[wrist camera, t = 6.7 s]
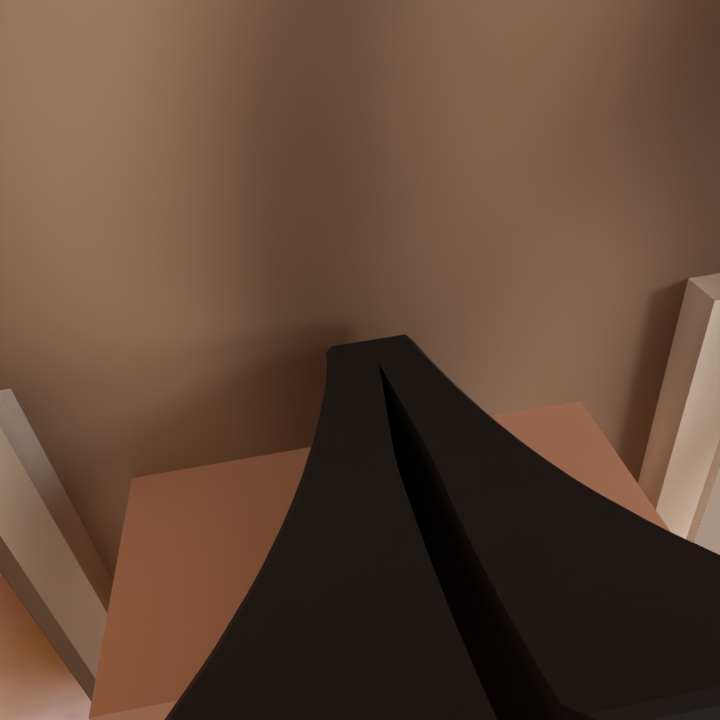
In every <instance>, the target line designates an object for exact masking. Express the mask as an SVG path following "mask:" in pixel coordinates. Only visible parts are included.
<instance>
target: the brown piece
mask: <svg viewBox="0 0 720 720" xmlns="http://www.w3.org/2000/svg"><path fill="white" fill-rule="evenodd" d="M404 334H406V335H407V336H408V337H410V338H411V339H412V340H413V341H414V342H415V343H416V344H417V345H418V347H419V348H420V349H421V350H422V351H423V352H424V353H425V354H426V355H427V356H428V358H429V359H430V360H431V361H432V362H433V363H434V364H435V365H436V366H437V367H438V368H439V369H440V370H441V371H442V372H443V373H444V374H445V375H446V376H447V377H448V378H449V379H450V380H451V381H452V382H453V383H454V384H455V385H456V386H457V387H458V388H459V389H461V390H462V391H463V392H464V393H465V394H466V395H467V396H468V397H469V398H470V399H472V400H473V401H474V402H475V403H476V404H477V405H478V406H479V407H480V408H481V409H483V410H484V411H485V412H486V413H487V414H488V415H490V416H495V415H501V414H506V413H512V412H518V411H524V410H530V409H535V408H541V407H547V406H553V405H559V404H564V403H570V402H576V401H581V402H582V403H583V405H584V406H585V408H586V409H587V410H588V412H589V413H590V415H591V416H592V418H593V419H594V421H595V422H596V424H597V425H598V427H599V428H600V429H601V431H602V432H603V434H604V435H605V437H606V438H607V440H608V441H609V443H610V444H611V445H612V447H613V448H614V450H615V451H616V453H617V454H618V456H619V457H620V459H621V460H622V462H623V463H624V464H625V466H626V467H627V469H628V470H629V472H630V473H631V475H632V476H633V478H634V479H635V480H636V482H637V483H638V485H639V486H640V488H641V489H642V491H643V492H644V494H645V495H646V497H647V498H648V499H649V501H650V502H651V504H652V505H653V507H654V508H655V510H656V511H657V513H658V514H659V515H660V517H661V518H662V520H663V521H664V523H665V524H666V526H667V527H668V529H669V530H670V532H672V533H674V534H676V535H678V536H680V537H682V538H684V539H686V540H688V541H691V542H694V539H695V536H696V533H697V530H698V528H699V525H700V522H701V519H702V516H703V513H704V510H705V507H706V505H707V502H708V499H709V496H710V493H711V490H712V487H713V485H714V482H715V479H716V476H717V473H718V470H719V468H720V0H0V571H1V573H2V574H3V576H4V577H5V578H6V580H7V581H8V583H9V584H10V586H11V587H12V589H13V590H14V591H15V593H16V594H17V596H18V597H19V599H20V600H21V601H22V603H23V604H24V606H25V607H26V609H27V610H28V611H29V613H30V614H31V616H32V617H33V619H34V620H35V621H36V623H37V624H38V626H39V627H40V629H41V630H42V631H43V633H44V634H45V636H46V637H47V639H48V640H49V641H50V643H51V644H52V646H53V647H54V649H55V650H56V651H57V653H58V654H59V656H60V657H61V659H62V660H63V661H64V663H65V664H66V666H67V667H68V669H69V670H70V671H71V673H72V674H73V676H74V677H75V679H76V680H77V681H78V683H79V684H80V686H81V687H82V689H83V690H84V691H85V693H86V694H87V696H88V697H89V699H90V700H91V701H92V697H93V691H94V686H95V680H96V675H97V669H98V664H99V658H100V653H101V647H102V642H103V636H104V630H105V625H106V619H107V614H108V608H109V603H110V597H111V592H112V586H113V581H114V575H115V570H116V564H117V558H118V553H119V547H120V542H121V536H122V531H123V525H124V520H125V514H126V509H127V503H128V498H129V492H130V486H131V481H132V478H135V477H141V476H147V475H153V474H159V473H164V472H170V471H176V470H182V469H188V468H193V467H199V466H205V465H211V464H216V463H222V462H228V461H234V460H240V459H245V458H251V457H257V456H263V455H269V454H274V453H280V452H286V451H292V450H298V449H303V448H309V447H311V446H312V443H313V440H314V436H315V433H316V429H317V424H318V420H319V416H320V411H321V407H322V403H323V397H324V391H325V384H326V375H327V358H326V352H327V351H328V350H329V349H330V348H331V347H332V346H337V345H343V344H349V343H355V342H361V341H367V340H373V339H380V338H386V337H392V336H398V335H404Z"/></svg>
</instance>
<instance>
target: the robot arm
mask: <svg viewBox="0 0 720 720" xmlns="http://www.w3.org/2000/svg"><path fill="white" fill-rule="evenodd" d="M326 358H327V375H326V384H325V391H324V397H323V403H322V407H321V411H320V416H319V420H318V424H317V429H316V433H315V436H314V440H313V443H312V446H311V449H310V452H309V455H308V459H307V462H306V465H305V468H304V471H303V474H302V477H301V480H300V482H299V485H298V488H297V490H296V493H295V495H294V498H293V500H292V503H291V505H290V508H289V510H288V512H287V515H286V517H285V519H284V522H283V524H282V526H281V528H280V530H279V533H278V535H277V537H276V539H275V541H274V543H273V545H272V547H271V549H270V551H269V553H268V555H267V557H266V559H265V561H264V563H263V565H262V567H261V569H260V571H259V573H258V575H257V576H256V578H255V580H254V582H253V584H252V586H251V587H250V589H249V591H248V593H247V594H246V596H245V598H244V599H243V601H242V603H241V604H240V606H239V608H238V609H237V611H236V613H235V614H234V616H233V618H232V619H231V621H230V623H229V624H228V626H227V628H226V629H225V631H224V632H223V634H222V636H221V637H220V639H219V641H218V642H217V644H216V646H215V647H214V649H213V650H212V652H211V653H210V655H209V656H208V658H207V660H206V661H205V663H204V664H203V666H202V667H201V668H200V670H199V671H198V673H197V674H196V675H195V677H194V678H193V680H192V681H191V683H190V684H189V685H188V687H187V688H186V690H185V691H184V692H183V694H182V695H181V697H180V698H179V700H178V701H177V702H176V704H175V705H174V707H173V708H172V709H171V711H170V712H169V714H168V715H167V717H166V718H165V719H164V720H720V555H718V554H716V553H714V552H712V551H710V550H708V549H706V548H703V547H701V546H699V545H697V544H695V543H693V542H691V541H688V540H686V539H684V538H682V537H680V536H678V535H676V534H674V533H672V532H670V531H668V530H666V529H664V528H662V527H660V526H658V525H656V524H654V523H652V522H650V521H648V520H646V519H644V518H642V517H641V516H639V515H637V514H635V513H633V512H632V511H630V510H628V509H626V508H624V507H623V506H621V505H619V504H617V503H615V502H614V501H612V500H610V499H608V498H606V497H605V496H603V495H601V494H599V493H597V492H596V491H594V490H592V489H591V488H589V487H587V486H586V485H584V484H582V483H581V482H579V481H578V480H576V479H574V478H573V477H571V476H570V475H568V474H567V473H565V472H564V471H562V470H561V469H559V468H558V467H556V466H555V465H553V464H552V463H551V462H549V461H548V460H546V459H545V458H543V457H542V456H541V455H539V454H538V453H536V452H535V451H534V450H532V449H531V448H530V447H528V446H527V445H526V444H524V443H523V442H522V441H520V440H519V439H518V438H517V437H515V436H514V435H513V434H512V433H510V432H509V431H508V430H507V429H505V428H504V427H503V426H502V425H500V424H499V423H498V422H497V421H495V420H494V419H493V418H492V417H491V416H490V415H488V414H487V413H486V412H485V411H484V410H483V409H481V408H480V407H479V406H478V405H477V404H476V403H475V402H474V401H473V400H472V399H470V398H469V397H468V396H467V395H466V394H465V393H464V392H463V391H462V390H461V389H459V388H458V387H457V386H456V385H455V384H454V383H453V382H452V381H451V380H450V379H449V378H448V377H447V376H446V375H445V374H444V373H443V372H442V371H441V370H440V369H439V368H438V367H437V366H436V365H435V364H434V363H433V362H432V361H431V360H430V359H429V358H428V356H427V355H426V354H425V353H424V352H423V351H422V350H421V349H420V348H419V347H418V345H417V344H416V343H415V342H414V341H413V340H412V339H411V338H410V337H408V336H407V335H406V334H404V335H398V336H392V337H386V338H380V339H373V340H367V341H361V342H355V343H349V344H343V345H337V346H332V347H331V348H330V349H329V350H328V351H327V352H326Z"/></svg>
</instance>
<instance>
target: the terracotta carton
mask: <svg viewBox="0 0 720 720" xmlns="http://www.w3.org/2000/svg"><path fill="white" fill-rule="evenodd" d="M491 417H492V418H493V419H494V420H495V421H497V422H498V423H499V424H500V425H502V426H503V427H504V428H505V429H507V430H508V431H509V432H510V433H512V434H513V435H514V436H515V437H517V438H518V439H519V440H520V441H522V442H523V443H524V444H526V445H527V446H528V447H530V448H531V449H532V450H534V451H535V452H536V453H538V454H539V455H541V456H542V457H543V458H545V459H546V460H548V461H549V462H551V463H552V464H553V465H555V466H556V467H558V468H559V469H561V470H562V471H564V472H565V473H567V474H568V475H570V476H571V477H573V478H574V479H576V480H578V481H579V482H581V483H582V484H584V485H586V486H587V487H589V488H591V489H592V490H594V491H596V492H597V493H599V494H601V495H603V496H605V497H606V498H608V499H610V500H612V501H614V502H615V503H617V504H619V505H621V506H623V507H624V508H626V509H628V510H630V511H632V512H633V513H635V514H637V515H639V516H641V517H642V518H644V519H646V520H648V521H650V522H652V523H654V524H656V525H658V526H660V527H662V528H664V529H666V530H668V531H670V530H669V529H668V527H667V526H666V524H665V523H664V521H663V520H662V518H661V517H660V515H659V514H658V513H657V511H656V510H655V508H654V507H653V505H652V504H651V502H650V501H649V499H648V498H647V497H646V495H645V494H644V492H643V491H642V489H641V488H640V486H639V485H638V483H637V482H636V480H635V479H634V478H633V476H632V475H631V473H630V472H629V470H628V469H627V467H626V466H625V464H624V463H623V462H622V460H621V459H620V457H619V456H618V454H617V453H616V451H615V450H614V448H613V447H612V445H611V444H610V443H609V441H608V440H607V438H606V437H605V435H604V434H603V432H602V431H601V429H600V428H599V427H598V425H597V424H596V422H595V421H594V419H593V418H592V416H591V415H590V413H589V412H588V410H587V409H586V408H585V406H584V405H583V403H582V402H581V401H576V402H570V403H564V404H559V405H553V406H547V407H541V408H535V409H530V410H524V411H518V412H512V413H506V414H501V415H495V416H491ZM310 449H311V447H309V448H303V449H298V450H292V451H286V452H280V453H274V454H269V455H263V456H257V457H251V458H245V459H240V460H234V461H228V462H222V463H216V464H211V465H205V466H199V467H193V468H188V469H182V470H176V471H170V472H164V473H159V474H153V475H147V476H141V477H135V478H132V481H131V486H130V492H129V498H128V503H127V509H126V514H125V520H124V525H123V531H122V536H121V542H120V547H119V553H118V558H117V564H116V570H115V575H114V581H113V586H112V592H111V597H110V603H109V608H108V614H107V619H106V625H105V630H104V636H103V642H102V647H101V653H100V658H99V664H98V669H97V675H96V680H95V686H94V691H93V697H92V703H91V708H90V714H89V719H90V720H164V719H165V718H166V717H167V715H168V714H169V712H170V711H171V709H172V708H173V707H174V705H175V704H176V702H177V701H178V700H179V698H180V697H181V695H182V694H183V692H184V691H185V690H186V688H187V687H188V685H189V684H190V683H191V681H192V680H193V678H194V677H195V675H196V674H197V673H198V671H199V670H200V668H201V667H202V666H203V664H204V663H205V661H206V660H207V658H208V656H209V655H210V653H211V652H212V650H213V649H214V647H215V646H216V644H217V642H218V641H219V639H220V637H221V636H222V634H223V632H224V631H225V629H226V628H227V626H228V624H229V623H230V621H231V619H232V618H233V616H234V614H235V613H236V611H237V609H238V608H239V606H240V604H241V603H242V601H243V599H244V598H245V596H246V594H247V593H248V591H249V589H250V587H251V586H252V584H253V582H254V580H255V578H256V576H257V575H258V573H259V571H260V569H261V567H262V565H263V563H264V561H265V559H266V557H267V555H268V553H269V551H270V549H271V547H272V545H273V543H274V541H275V539H276V537H277V535H278V533H279V530H280V528H281V526H282V524H283V522H284V519H285V517H286V515H287V512H288V510H289V508H290V505H291V503H292V500H293V498H294V495H295V493H296V490H297V488H298V485H299V482H300V480H301V477H302V474H303V471H304V468H305V465H306V462H307V459H308V455H309V452H310Z"/></svg>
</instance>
